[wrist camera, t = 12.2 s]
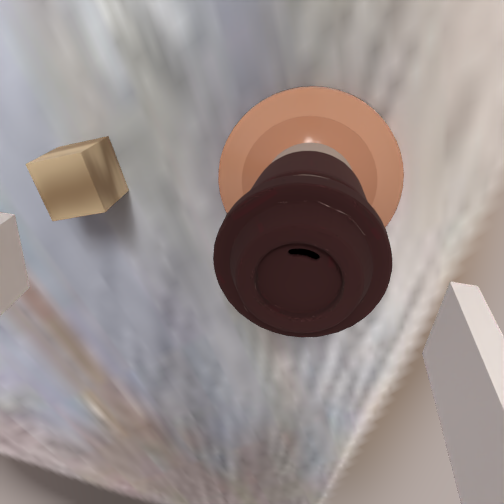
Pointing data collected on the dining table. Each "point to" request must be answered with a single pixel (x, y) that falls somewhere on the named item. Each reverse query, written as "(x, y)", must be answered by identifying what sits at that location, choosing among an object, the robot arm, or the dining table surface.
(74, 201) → the tan cube
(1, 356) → the dining table surface
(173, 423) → the dining table surface
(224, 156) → the saucer
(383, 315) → the dining table surface
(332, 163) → the coffee cup
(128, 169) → the dining table surface
